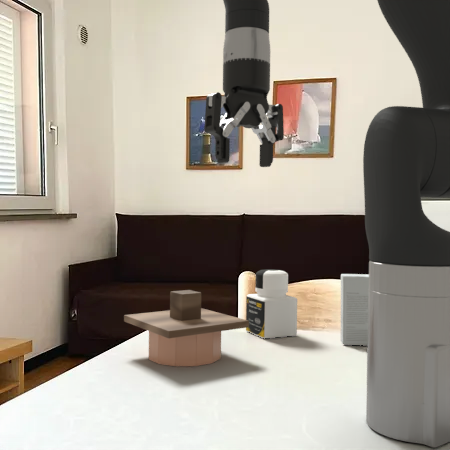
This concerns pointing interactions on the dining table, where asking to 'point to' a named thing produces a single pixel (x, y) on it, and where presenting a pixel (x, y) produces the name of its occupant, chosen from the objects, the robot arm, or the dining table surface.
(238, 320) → the walnut lid
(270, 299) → the medicine bottle
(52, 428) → the dining table surface
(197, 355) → the terracotta bowl
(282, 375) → the dining table surface
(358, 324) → the skincare box
